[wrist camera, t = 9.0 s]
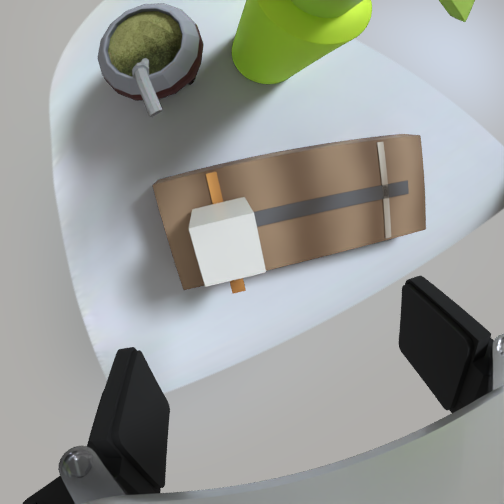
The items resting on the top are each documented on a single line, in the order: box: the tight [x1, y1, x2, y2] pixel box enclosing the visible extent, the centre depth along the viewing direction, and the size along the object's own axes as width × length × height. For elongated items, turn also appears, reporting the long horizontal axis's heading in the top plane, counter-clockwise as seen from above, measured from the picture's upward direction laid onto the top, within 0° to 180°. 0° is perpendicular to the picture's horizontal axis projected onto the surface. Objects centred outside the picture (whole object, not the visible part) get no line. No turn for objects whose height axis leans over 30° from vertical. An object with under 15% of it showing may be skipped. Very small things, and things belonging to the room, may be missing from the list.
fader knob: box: [189, 197, 266, 287], centre depth 22 cm, size 4×4×5 cm
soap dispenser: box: [232, 0, 475, 84], centre depth 14 cm, size 6×7×20 cm
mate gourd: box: [98, 3, 203, 117], centre depth 15 cm, size 8×8×15 cm
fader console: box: [153, 134, 426, 293], centre depth 25 cm, size 23×9×6 cm, turn 102°
